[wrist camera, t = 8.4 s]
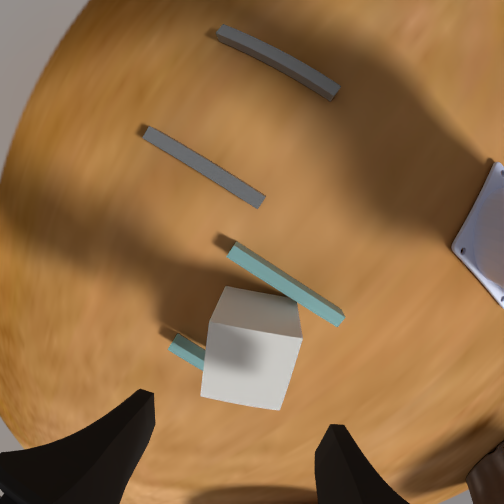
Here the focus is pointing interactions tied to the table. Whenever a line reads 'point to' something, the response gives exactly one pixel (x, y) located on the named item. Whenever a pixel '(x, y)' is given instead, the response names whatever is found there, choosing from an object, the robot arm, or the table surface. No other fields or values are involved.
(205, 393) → the grey cube
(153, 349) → the table surface
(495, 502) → the plant pot
